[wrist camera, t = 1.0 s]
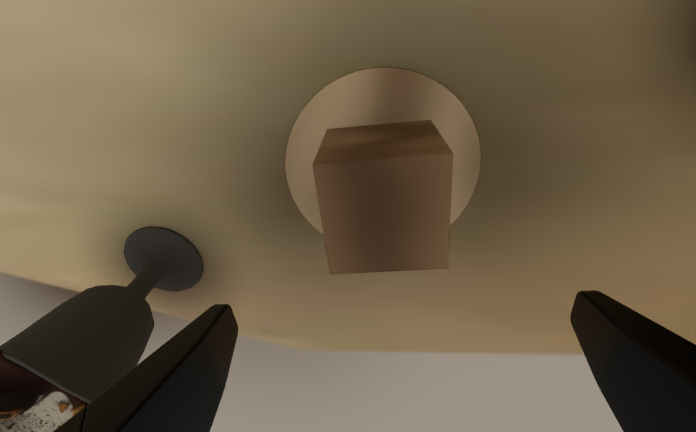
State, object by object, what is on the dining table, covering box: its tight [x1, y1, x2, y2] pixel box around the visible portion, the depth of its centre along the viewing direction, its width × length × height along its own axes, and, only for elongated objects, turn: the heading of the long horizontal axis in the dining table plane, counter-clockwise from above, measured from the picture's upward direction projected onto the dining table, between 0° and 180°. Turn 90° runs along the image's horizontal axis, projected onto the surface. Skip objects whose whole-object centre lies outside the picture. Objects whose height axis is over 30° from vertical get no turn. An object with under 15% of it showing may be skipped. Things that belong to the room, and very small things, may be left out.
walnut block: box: [312, 120, 453, 274], centre depth 15 cm, size 5×5×5 cm
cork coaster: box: [285, 67, 481, 235], centre depth 18 cm, size 10×10×1 cm
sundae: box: [0, 227, 203, 432], centre depth 15 cm, size 7×7×15 cm
